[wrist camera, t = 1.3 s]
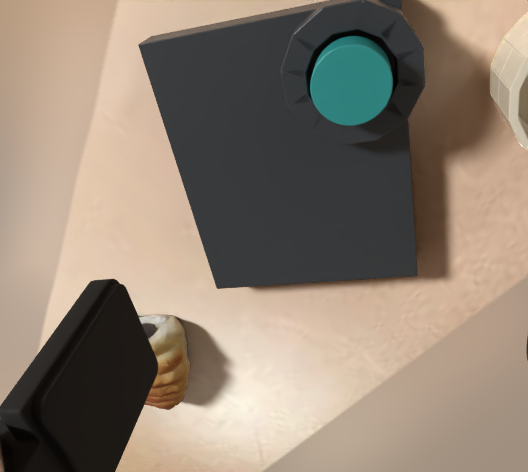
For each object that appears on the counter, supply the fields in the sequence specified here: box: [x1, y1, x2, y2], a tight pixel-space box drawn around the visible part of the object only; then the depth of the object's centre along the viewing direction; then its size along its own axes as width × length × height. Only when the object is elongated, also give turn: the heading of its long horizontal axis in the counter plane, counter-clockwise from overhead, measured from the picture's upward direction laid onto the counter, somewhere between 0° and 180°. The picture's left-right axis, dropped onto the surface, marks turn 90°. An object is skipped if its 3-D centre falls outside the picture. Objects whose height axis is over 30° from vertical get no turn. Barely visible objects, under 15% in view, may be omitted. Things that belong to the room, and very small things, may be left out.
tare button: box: [310, 36, 393, 126], centre depth 23 cm, size 4×4×2 cm
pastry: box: [139, 315, 190, 410], centre depth 40 cm, size 9×7×4 cm
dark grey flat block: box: [139, 0, 425, 289], centre depth 28 cm, size 16×14×4 cm
